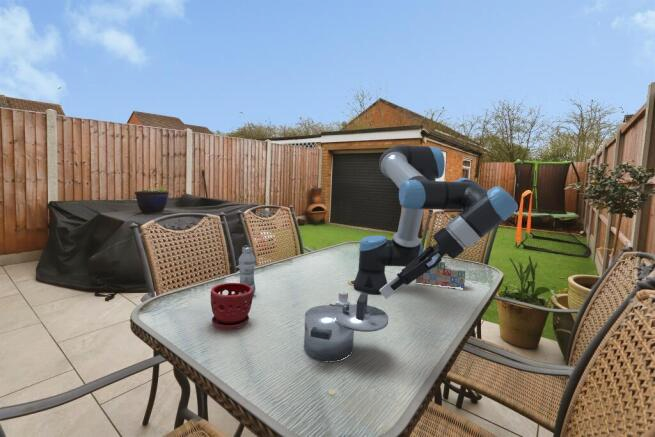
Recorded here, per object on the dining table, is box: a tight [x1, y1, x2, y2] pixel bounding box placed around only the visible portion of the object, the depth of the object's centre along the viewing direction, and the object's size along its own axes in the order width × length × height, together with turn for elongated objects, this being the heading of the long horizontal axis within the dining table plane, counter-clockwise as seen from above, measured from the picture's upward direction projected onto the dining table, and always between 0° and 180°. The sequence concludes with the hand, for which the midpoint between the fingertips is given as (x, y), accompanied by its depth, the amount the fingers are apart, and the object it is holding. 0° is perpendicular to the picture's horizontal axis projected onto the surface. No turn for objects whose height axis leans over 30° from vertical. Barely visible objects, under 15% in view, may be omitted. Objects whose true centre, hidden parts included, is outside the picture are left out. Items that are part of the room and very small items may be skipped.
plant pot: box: [210, 282, 254, 330], centre depth 105 cm, size 13×13×12 cm
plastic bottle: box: [238, 245, 256, 296], centre depth 129 cm, size 6×7×20 cm
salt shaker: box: [334, 290, 351, 306], centre depth 112 cm, size 4×4×10 cm
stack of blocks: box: [415, 258, 467, 289], centre depth 152 cm, size 21×6×12 cm, turn 72°
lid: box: [335, 292, 389, 333], centre depth 88 cm, size 15×15×6 cm
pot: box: [303, 303, 355, 363], centre depth 92 cm, size 14×19×10 cm
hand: (382, 294), depth 86 cm, fingers closed
